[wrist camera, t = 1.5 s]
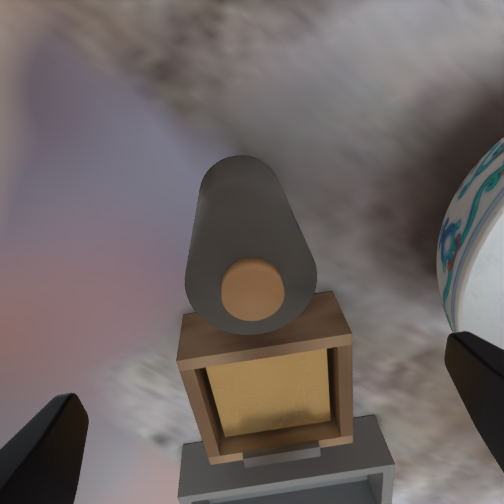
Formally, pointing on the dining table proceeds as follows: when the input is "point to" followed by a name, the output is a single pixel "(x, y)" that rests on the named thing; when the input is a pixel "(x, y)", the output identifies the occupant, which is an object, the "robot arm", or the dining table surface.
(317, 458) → the trough
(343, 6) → the dining table surface
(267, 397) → the plate
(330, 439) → the frame
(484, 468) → the dining table surface
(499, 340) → the chinaware
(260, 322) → the battery cell
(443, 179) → the dining table surface
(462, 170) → the dining table surface
